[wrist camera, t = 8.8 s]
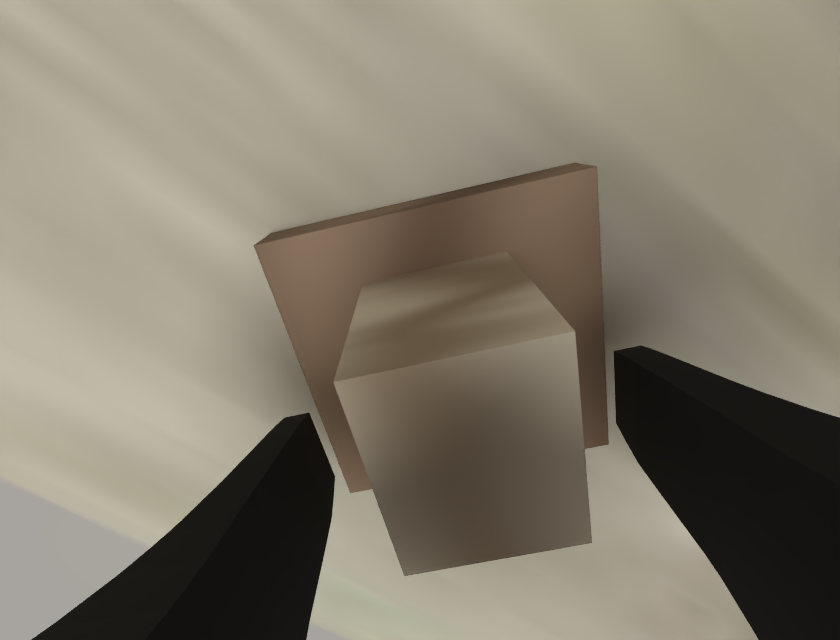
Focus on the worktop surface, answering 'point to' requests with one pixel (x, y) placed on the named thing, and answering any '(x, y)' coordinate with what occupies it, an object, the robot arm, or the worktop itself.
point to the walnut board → (436, 246)
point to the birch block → (467, 414)
